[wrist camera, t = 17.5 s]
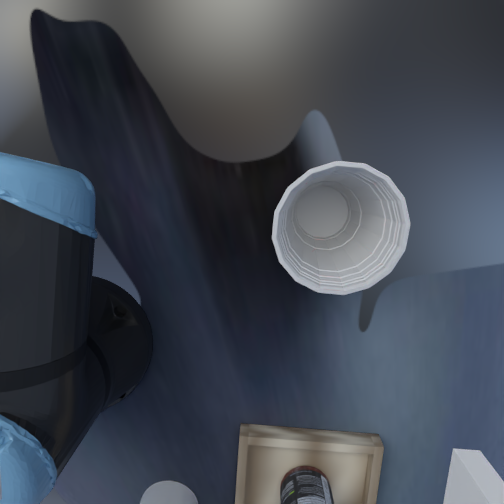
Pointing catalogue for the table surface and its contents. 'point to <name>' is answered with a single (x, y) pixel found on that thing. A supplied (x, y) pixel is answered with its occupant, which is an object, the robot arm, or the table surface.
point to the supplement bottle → (305, 487)
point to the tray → (307, 462)
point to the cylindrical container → (168, 494)
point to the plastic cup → (340, 227)
